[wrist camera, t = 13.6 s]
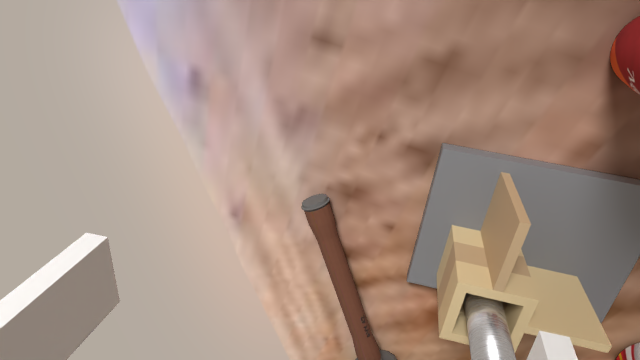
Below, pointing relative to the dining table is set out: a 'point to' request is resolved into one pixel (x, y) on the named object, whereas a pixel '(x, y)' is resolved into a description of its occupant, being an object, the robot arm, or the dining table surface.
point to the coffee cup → (627, 55)
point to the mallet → (342, 277)
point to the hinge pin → (487, 329)
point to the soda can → (630, 353)
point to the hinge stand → (526, 243)
